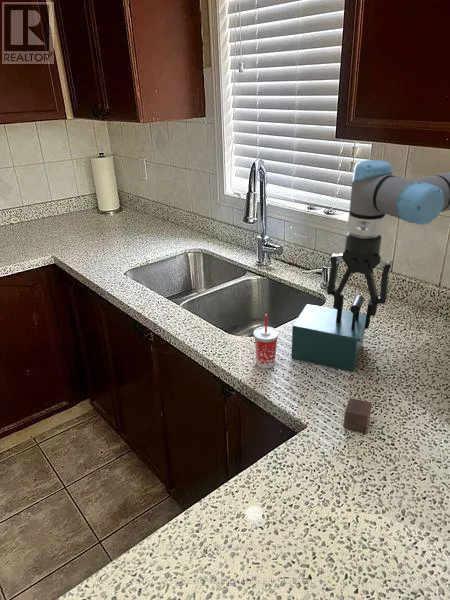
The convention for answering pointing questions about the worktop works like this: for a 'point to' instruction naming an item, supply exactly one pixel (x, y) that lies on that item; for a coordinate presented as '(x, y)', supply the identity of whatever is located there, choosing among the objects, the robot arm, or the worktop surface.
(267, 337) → the beverage cup
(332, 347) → the teal hinged box
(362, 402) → the block
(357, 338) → the lid
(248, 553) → the worktop surface
